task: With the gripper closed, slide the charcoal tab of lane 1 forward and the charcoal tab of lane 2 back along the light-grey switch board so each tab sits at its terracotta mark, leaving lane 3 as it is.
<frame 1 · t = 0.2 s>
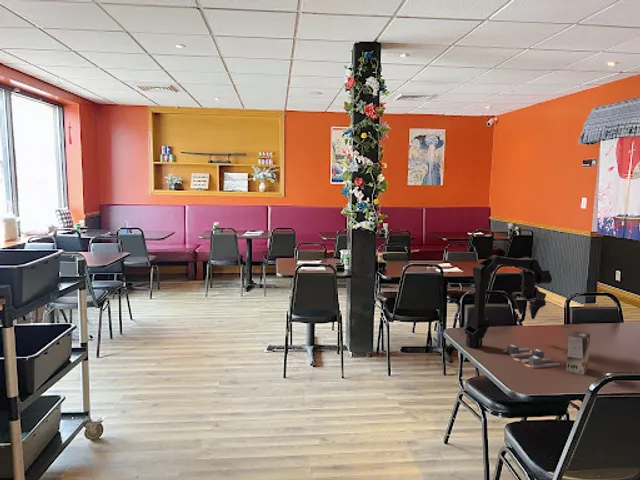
hand: (526, 316, 222), 14 cm above the table, fingers open, 9 cm apart
tab1: (512, 349, 208), point 3 cm above the table, slide at 0.0 cm
coffee box: (576, 373, 190), on the table
tab2: (537, 354, 202), point 3 cm above the table, slide at 7.0 cm
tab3: (535, 361, 194), point 3 cm above the table, slide at 0.0 cm
switch board: (530, 361, 202), on the table
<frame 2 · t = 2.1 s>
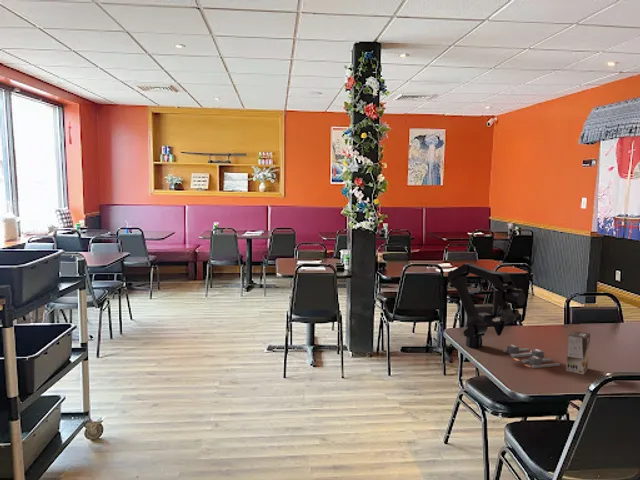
hand: (498, 335, 206), 10 cm above the table, fingers closed
nothing on the table moved.
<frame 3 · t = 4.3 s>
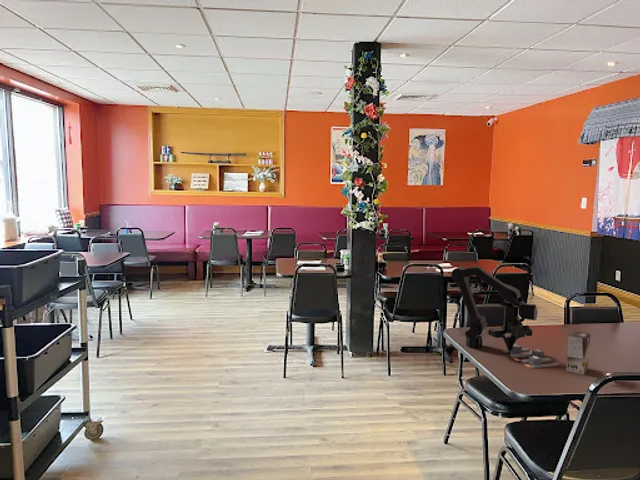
hand: (509, 350, 208), 3 cm above the table, fingers closed
tab1: (515, 349, 208), point 3 cm above the table, slide at 1.5 cm, touching gripper
everything else where it was.
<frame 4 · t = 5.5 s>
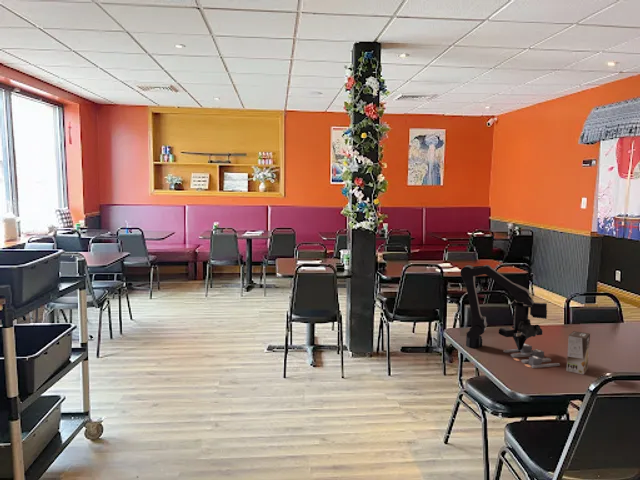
hand: (519, 350, 209), 3 cm above the table, fingers closed
tab1: (525, 348, 210), point 3 cm above the table, slide at 6.6 cm, touching gripper
everything else where it was.
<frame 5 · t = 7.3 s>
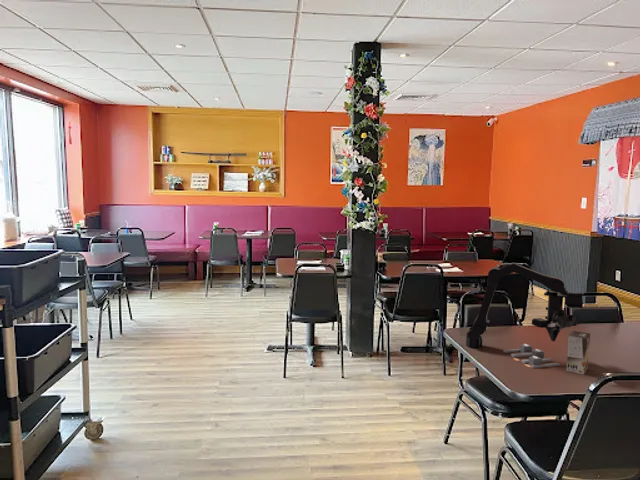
hand: (553, 341, 204), 8 cm above the table, fingers closed
tab1: (526, 348, 210), point 3 cm above the table, slide at 6.7 cm
everything else where it was.
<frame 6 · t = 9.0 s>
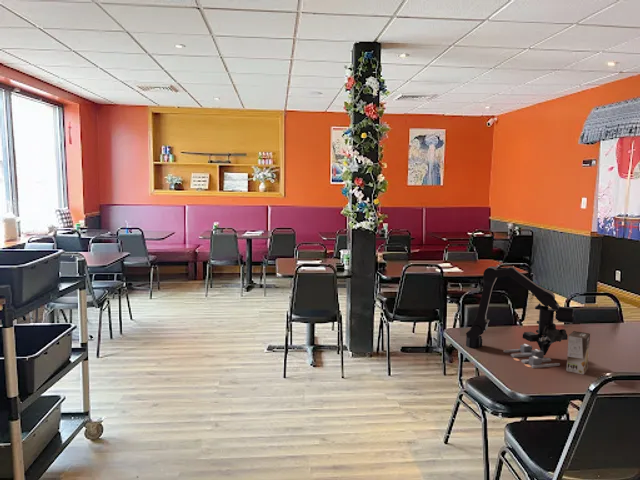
hand: (543, 354, 203), 2 cm above the table, fingers closed
tab2: (537, 354, 202), point 3 cm above the table, slide at 6.9 cm, touching gripper
everything else where it was.
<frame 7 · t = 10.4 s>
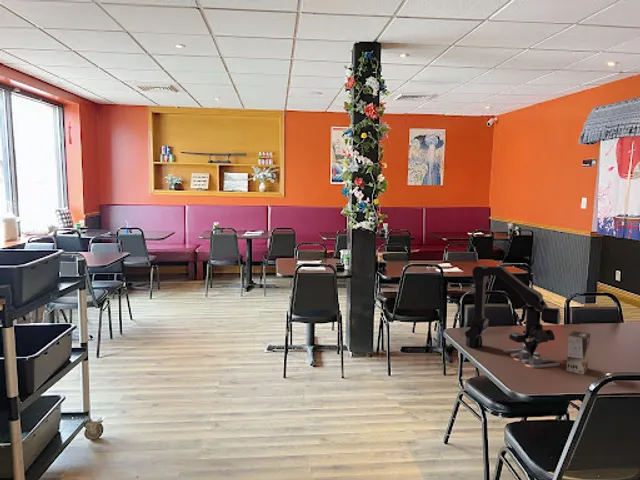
hand: (531, 355, 202), 3 cm above the table, fingers closed
tab2: (524, 355, 201), point 3 cm above the table, slide at 0.4 cm, touching gripper
everything else where it was.
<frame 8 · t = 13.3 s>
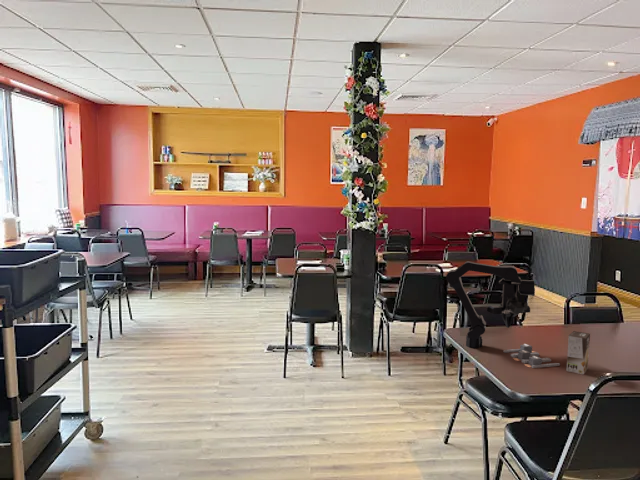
hand: (507, 327, 212), 12 cm above the table, fingers closed
tab2: (524, 355, 201), point 3 cm above the table, slide at 0.3 cm
everything else where it was.
at the end: tab1 slide at 6.7 cm; tab2 slide at 0.3 cm; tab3 slide at 0.0 cm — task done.
